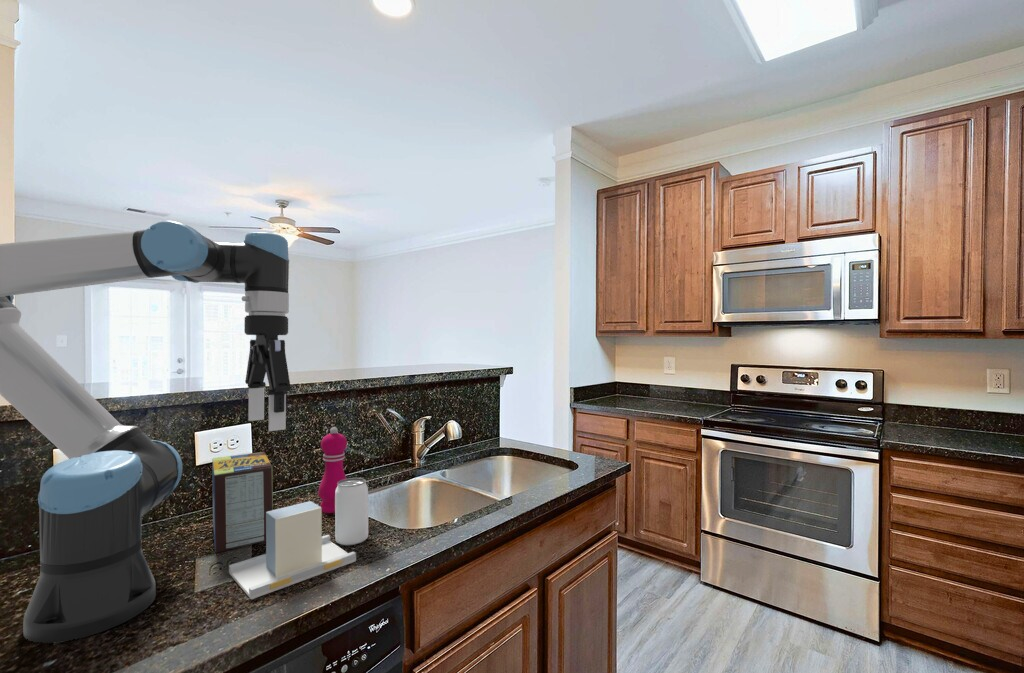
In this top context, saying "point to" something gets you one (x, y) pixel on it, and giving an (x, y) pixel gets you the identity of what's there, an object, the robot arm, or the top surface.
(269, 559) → the tea box
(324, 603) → the top surface
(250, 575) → the white tray
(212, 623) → the top surface
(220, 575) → the top surface
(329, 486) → the pepper mill
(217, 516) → the protein box
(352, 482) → the can
